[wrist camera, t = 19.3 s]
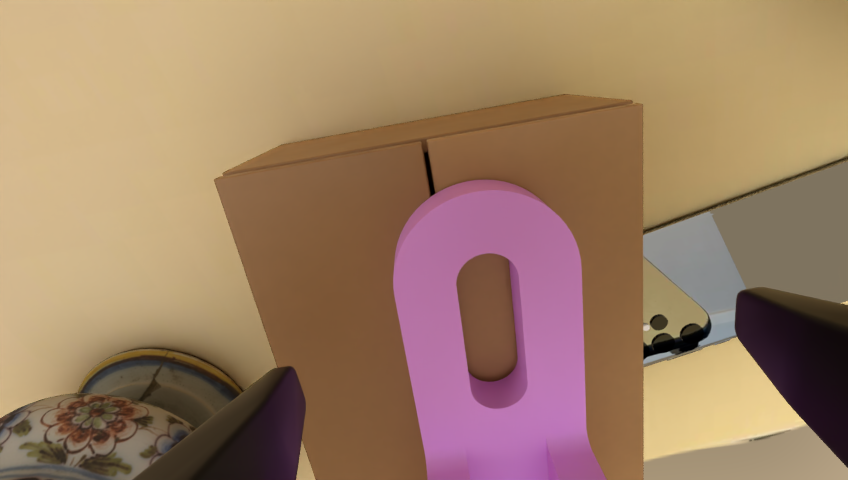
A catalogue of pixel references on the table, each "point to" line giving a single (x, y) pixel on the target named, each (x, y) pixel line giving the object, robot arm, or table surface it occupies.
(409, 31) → the table surface
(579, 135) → the flap
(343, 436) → the carton
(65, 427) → the apothecary jar
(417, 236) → the bracket
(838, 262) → the smartphone
